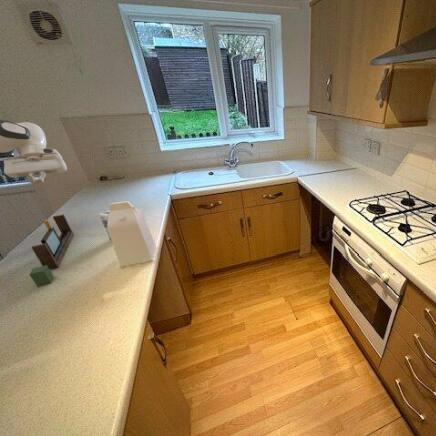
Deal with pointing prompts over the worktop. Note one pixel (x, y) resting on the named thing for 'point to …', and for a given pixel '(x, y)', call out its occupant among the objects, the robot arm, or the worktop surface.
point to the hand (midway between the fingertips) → (38, 181)
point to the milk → (130, 234)
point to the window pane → (51, 239)
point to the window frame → (65, 237)
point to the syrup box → (105, 221)
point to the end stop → (41, 275)
